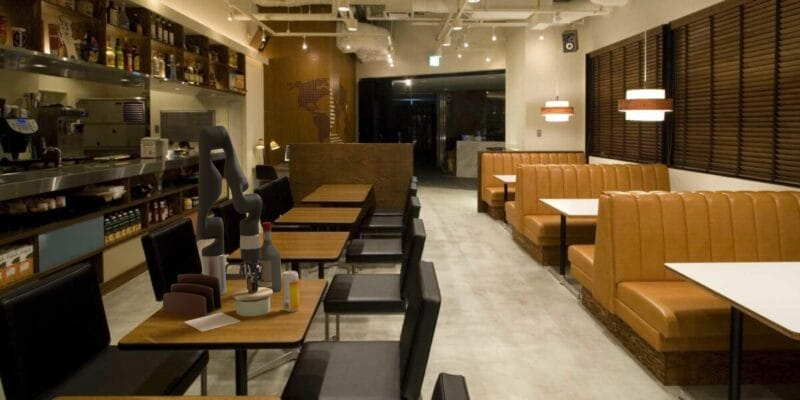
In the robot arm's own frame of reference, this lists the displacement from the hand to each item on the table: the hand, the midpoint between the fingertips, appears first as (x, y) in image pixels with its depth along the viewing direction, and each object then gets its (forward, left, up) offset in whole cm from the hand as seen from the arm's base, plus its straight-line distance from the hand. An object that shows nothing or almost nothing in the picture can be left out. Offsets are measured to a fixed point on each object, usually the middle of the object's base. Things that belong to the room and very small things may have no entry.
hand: (252, 290), depth 229 cm
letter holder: (-19, -16, -9) cm, 26 cm away
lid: (0, 0, -2) cm, 2 cm away
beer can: (+8, +12, -9) cm, 17 cm away
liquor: (-23, +21, -9) cm, 33 cm away
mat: (0, -17, -9) cm, 19 cm away
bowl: (0, 0, -9) cm, 9 cm away
